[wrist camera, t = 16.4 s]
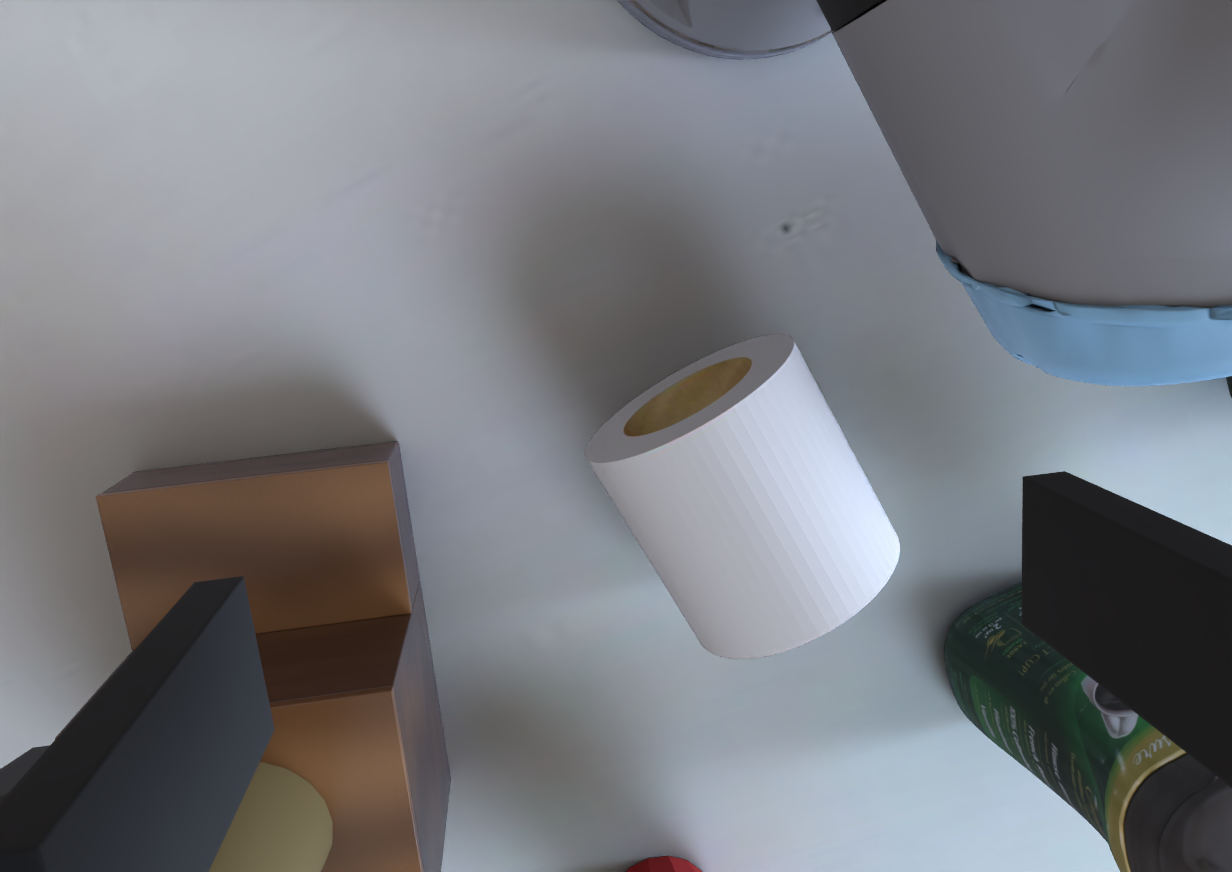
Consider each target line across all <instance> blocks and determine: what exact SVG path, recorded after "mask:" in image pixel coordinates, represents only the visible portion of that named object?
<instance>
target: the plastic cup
mask: <svg viewBox="0 0 1232 872" xmlns="http://www.w3.org/2000/svg"><path fill="white" fill-rule="evenodd" d="M626 872H702V871H701V870H700V869H698V868H697V867H696V866H694V865H693V864H691V863H690V862H689V861H687V860H684V859H679V858H675V857H671V856H663V857H655V858H648V859H646V860H644V861H642V862H640V863H638V864H636V865H634V866H631V867H630V868H629V869H628V870H627V871H626Z"/></svg>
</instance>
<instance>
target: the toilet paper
mask: <svg viewBox="0 0 1232 872" xmlns="http://www.w3.org/2000/svg"><path fill="white" fill-rule="evenodd" d="M585 457H586V459H587V460H588V462H589V464H590V465H591V467H592V468H593V470H594V472H595V473H596V475H597V476H598V478H599V480H600V481H601V483H602V485H603V486H604V488H605V489H606V491H607V493H608V494H609V496H610V498H611V499H612V501H613V502H614V504H615V506H616V507H617V509H618V511H619V512H620V514H621V515H622V517H623V519H624V520H625V522H626V523H627V525H628V527H629V528H630V530H631V532H632V533H633V535H634V536H635V538H636V540H637V541H638V543H639V545H640V546H641V548H642V549H643V551H644V553H645V554H646V556H647V558H648V559H649V561H650V562H651V564H652V566H653V567H654V569H655V570H656V572H657V574H658V575H659V577H660V579H661V580H662V582H663V583H664V585H665V587H666V588H667V590H668V592H669V593H670V595H671V596H672V598H673V600H674V601H675V603H676V604H677V606H678V608H679V609H680V611H681V613H682V614H683V616H684V617H685V619H686V621H687V622H688V624H689V626H690V627H691V629H692V630H693V632H694V634H695V635H696V637H697V639H698V640H699V642H700V643H701V645H702V646H703V647H704V648H705V649H706V650H708V651H709V652H711V653H713V654H714V655H717V656H720V657H724V658H730V659H752V658H760V657H766V656H770V655H774V654H778V653H782V652H785V651H788V650H791V649H794V648H796V647H799V646H801V645H804V644H806V643H808V642H811V641H813V640H815V639H817V638H819V637H821V636H823V635H824V634H826V633H828V632H830V631H832V630H833V629H835V628H836V627H838V626H840V625H841V624H843V623H844V622H846V621H847V620H848V619H850V618H851V617H853V616H854V615H855V614H856V613H858V612H859V611H860V610H861V609H862V608H864V607H865V606H866V605H867V604H868V603H869V602H870V601H871V600H872V599H873V598H874V597H875V596H876V595H877V594H878V593H879V592H880V590H881V589H882V588H883V587H884V586H885V584H886V583H887V581H888V580H889V578H890V577H891V575H892V573H893V572H894V570H895V567H896V565H897V562H898V559H899V554H900V543H899V539H898V536H897V534H896V532H895V530H894V529H893V527H892V525H891V523H890V521H889V519H888V517H887V515H886V513H885V512H884V510H883V508H882V506H881V504H880V502H879V500H878V498H877V496H876V495H875V493H874V491H873V489H872V487H871V485H870V483H869V481H868V479H867V478H866V476H865V474H864V472H863V470H862V468H861V466H860V464H859V463H858V461H857V459H856V457H855V455H854V453H853V451H852V449H851V447H850V446H849V444H848V442H847V440H846V438H845V436H844V434H843V432H842V430H841V429H840V427H839V425H838V423H837V421H836V419H835V417H834V415H833V413H832V412H831V410H830V408H829V406H828V404H827V402H826V400H825V398H824V396H823V395H822V393H821V391H820V389H819V387H818V385H817V383H816V381H815V379H814V378H813V376H812V374H811V372H810V370H809V368H808V366H807V364H806V362H805V361H804V359H803V357H802V355H801V353H800V351H799V349H798V347H797V345H796V344H795V342H794V340H793V338H792V337H791V336H789V335H786V334H769V335H764V336H759V337H755V338H752V339H748V340H745V341H742V342H739V343H736V344H734V345H731V346H728V347H726V348H723V349H721V350H719V351H716V352H714V353H712V354H710V355H708V356H706V357H703V358H701V359H699V360H697V361H695V362H693V363H692V364H690V365H688V366H686V367H684V368H682V369H680V370H679V371H677V372H675V373H673V374H672V375H670V376H668V377H666V378H665V379H663V380H662V381H660V382H658V383H657V384H655V385H654V386H652V387H651V388H649V389H648V390H646V391H645V392H643V393H642V394H640V395H639V396H637V397H636V398H635V399H633V400H632V401H631V402H629V403H628V404H627V405H625V406H624V407H623V408H621V409H620V410H619V411H618V412H617V413H615V414H614V415H613V416H612V417H611V418H610V419H609V420H608V421H606V422H605V423H604V424H603V425H602V426H601V427H600V429H599V430H598V431H597V432H596V433H595V434H594V436H593V437H592V438H591V440H590V441H589V443H588V445H587V447H586V449H585Z"/></svg>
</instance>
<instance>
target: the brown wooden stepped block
mask: <svg viewBox="0 0 1232 872" xmlns="http://www.w3.org/2000/svg"><path fill="white" fill-rule="evenodd" d="M96 499H97V504H98V508H99V512H100V516H101V521H102V525H103V529H104V533H105V537H106V542H107V546H108V550H109V554H110V559H111V563H112V567H113V571H114V575H115V580H116V584H117V588H118V592H119V597H120V601H121V605H122V609H123V614H124V618H125V622H126V626H127V630H128V635H129V639H130V643H131V647H132V650H133V651H134V650H135V649H136V648H137V647H138V646H139V645H140V643H141V642H142V641H143V640H144V639H145V638H146V637H147V636H148V634H149V633H150V632H151V631H152V630H153V629H154V628H155V626H156V625H157V624H158V623H159V622H160V621H161V620H162V619H163V617H164V616H165V615H166V614H167V613H168V612H169V611H170V609H171V608H172V607H173V606H174V605H175V604H176V603H177V602H178V600H179V599H180V598H181V597H182V596H183V595H184V594H185V593H186V591H187V590H188V589H189V588H190V587H191V586H192V585H193V583H194V582H201V581H208V580H216V579H224V578H232V577H240V576H244V580H245V585H246V590H247V595H248V600H249V605H250V610H251V615H252V620H253V625H254V630H255V634H256V639H257V644H258V649H259V654H260V659H261V664H262V669H263V674H264V679H265V684H266V689H267V694H268V699H269V704H270V709H271V714H272V719H273V724H274V729H275V730H274V732H273V735H272V737H271V739H270V741H269V743H268V745H267V747H266V750H265V752H264V754H263V756H262V758H261V760H260V762H265V763H268V764H272V765H275V766H279V767H282V768H286V769H289V770H291V771H292V772H294V773H295V774H297V775H298V776H300V777H302V778H303V779H305V780H306V781H308V782H309V783H311V785H312V786H313V787H314V788H315V789H316V791H317V792H318V793H319V794H320V796H321V797H322V798H323V799H324V800H325V802H326V805H327V808H328V810H329V813H330V816H331V819H332V821H333V837H332V846H331V849H330V851H329V854H328V856H327V859H326V861H325V864H324V866H323V868H322V870H321V872H441V866H442V857H443V847H444V838H445V829H446V819H447V810H448V801H449V791H450V782H451V778H450V771H449V765H448V758H447V752H446V745H445V739H444V732H443V726H442V719H441V713H440V706H439V700H438V693H437V687H436V680H435V674H434V668H433V661H432V655H431V648H430V642H429V635H428V629H427V622H426V616H425V609H424V603H423V596H422V590H421V583H420V581H419V580H420V578H419V571H418V565H417V558H416V552H415V545H414V539H413V532H412V526H411V519H410V513H409V506H408V500H407V493H406V487H405V480H404V474H403V467H402V461H401V455H400V448H399V443H398V442H397V441H395V442H386V443H378V444H369V445H361V446H352V447H344V448H335V449H326V450H318V451H309V452H301V453H292V454H284V455H275V456H266V457H258V458H249V459H241V460H232V461H224V462H215V463H206V464H198V465H189V466H181V467H172V468H164V469H155V470H147V471H138V472H134V473H132V474H130V475H129V476H127V477H126V478H124V479H123V480H121V481H120V482H118V483H117V484H115V485H114V486H112V487H111V488H109V489H108V490H106V491H105V492H103V493H102V494H99V495H98V496H96ZM133 651H132V652H133ZM132 652H131V653H130V654H129V655H128V656H127V658H128V657H129V656H130V655H131V654H132ZM127 658H126V659H127ZM126 659H125V660H126ZM125 660H124V661H123V662H122V663H121V664H120V665H119V667H120V666H121V665H122V664H123V663H124V662H125ZM119 667H118V668H119ZM118 668H117V669H118ZM117 669H116V670H115V671H114V672H113V673H112V674H111V676H112V675H113V674H114V673H115V672H116V671H117ZM111 676H110V677H111ZM110 677H109V678H108V679H107V680H106V681H105V682H104V683H103V685H104V684H105V683H106V682H107V681H108V680H109V679H110ZM103 685H102V686H103ZM102 686H101V687H100V688H99V689H98V690H97V691H96V693H97V692H98V691H99V690H100V689H101V688H102ZM96 693H95V694H96ZM95 694H94V695H93V696H92V697H91V698H90V699H89V700H88V702H89V701H90V700H91V699H92V698H93V697H94V696H95ZM88 702H87V703H88ZM87 703H86V704H85V705H84V706H83V707H82V708H81V709H80V711H81V710H82V709H83V708H84V707H85V706H86V705H87ZM80 711H79V712H80ZM79 712H78V713H77V714H76V715H75V716H74V717H73V718H72V720H73V719H74V718H75V717H76V716H77V715H78V714H79ZM72 720H71V721H70V722H69V723H68V724H67V725H66V726H65V727H64V729H65V728H66V727H67V726H68V725H69V724H70V723H71V722H72ZM64 729H63V730H62V731H61V733H62V732H63V731H64ZM61 733H59V734H58V735H57V736H56V738H55V740H56V739H57V737H58V736H59V735H60V734H61Z"/></svg>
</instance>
